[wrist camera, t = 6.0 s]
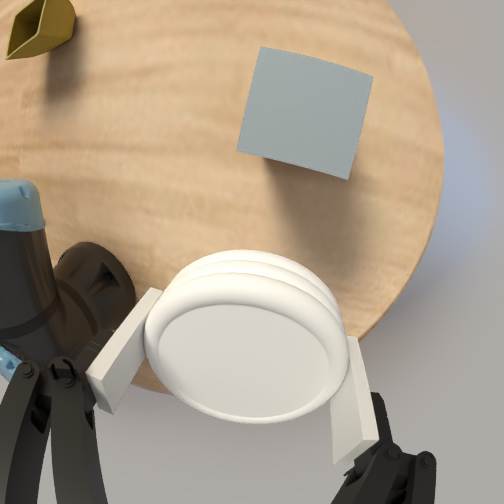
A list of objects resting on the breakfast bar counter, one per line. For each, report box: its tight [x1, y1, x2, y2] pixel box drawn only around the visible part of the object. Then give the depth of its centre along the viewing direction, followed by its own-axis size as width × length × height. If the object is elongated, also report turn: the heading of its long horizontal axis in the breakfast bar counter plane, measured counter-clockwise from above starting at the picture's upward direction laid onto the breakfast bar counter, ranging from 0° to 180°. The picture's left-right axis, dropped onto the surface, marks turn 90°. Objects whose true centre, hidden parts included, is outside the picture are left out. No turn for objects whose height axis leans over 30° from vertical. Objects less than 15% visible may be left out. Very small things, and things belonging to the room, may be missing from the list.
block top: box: [236, 47, 373, 180], centre depth 17 cm, size 7×7×7 cm
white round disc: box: [144, 249, 349, 424], centre depth 13 cm, size 10×10×4 cm
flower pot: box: [5, 0, 76, 60], centre depth 19 cm, size 9×9×9 cm
